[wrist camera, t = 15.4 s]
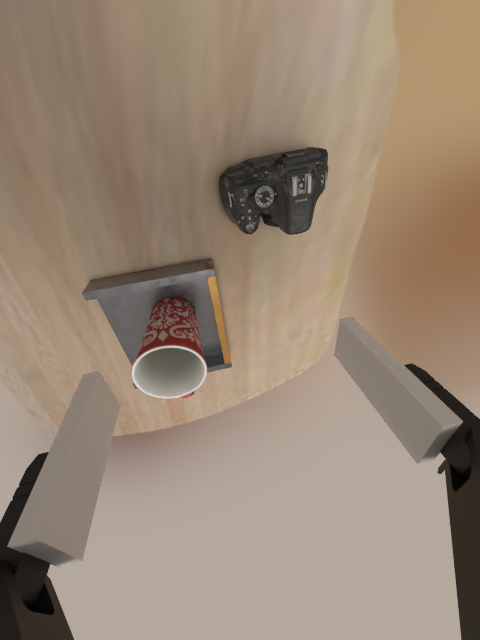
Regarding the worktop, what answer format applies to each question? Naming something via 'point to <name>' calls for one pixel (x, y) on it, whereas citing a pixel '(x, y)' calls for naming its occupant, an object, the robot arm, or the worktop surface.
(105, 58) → the worktop surface
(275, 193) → the camera
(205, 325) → the tray
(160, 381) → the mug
